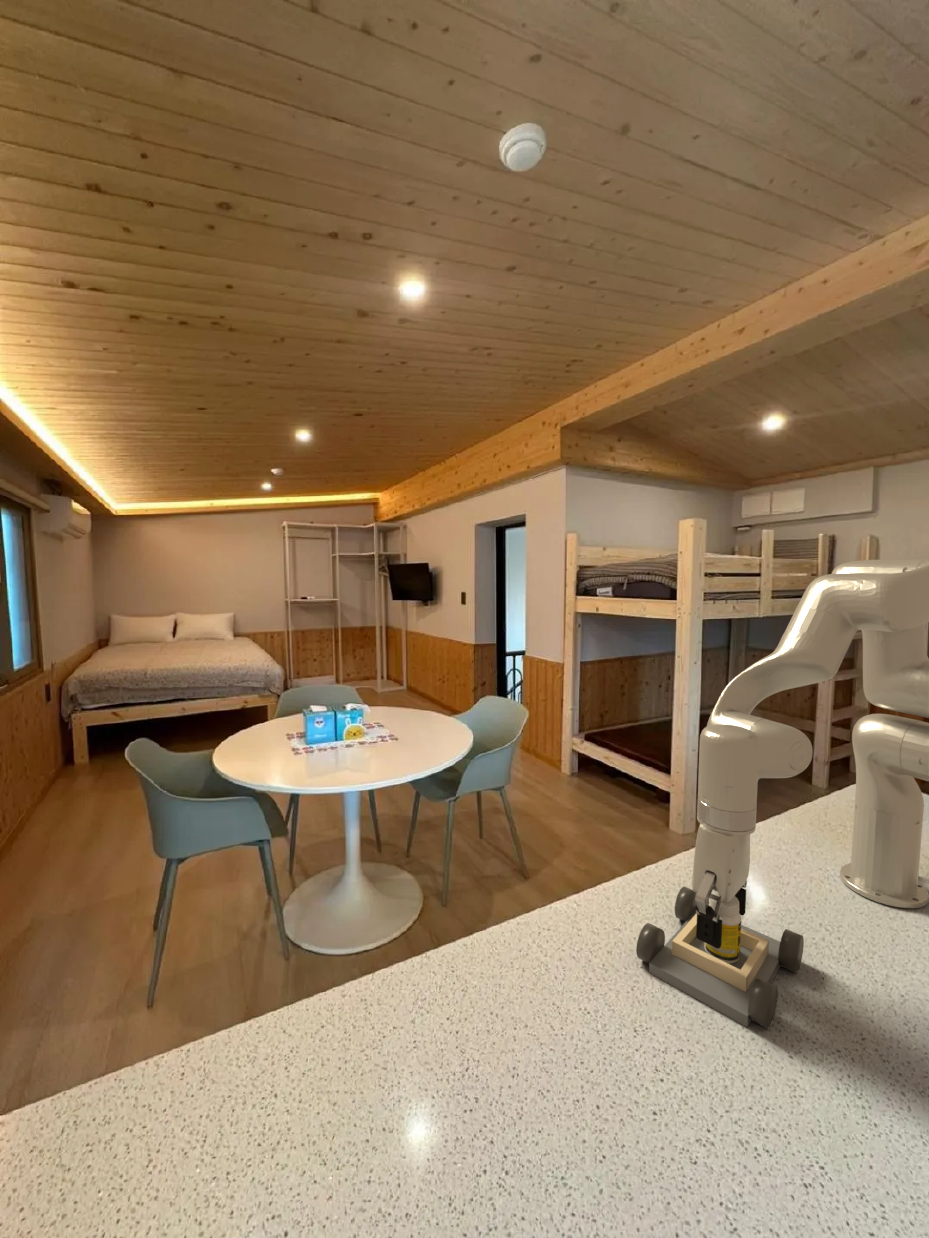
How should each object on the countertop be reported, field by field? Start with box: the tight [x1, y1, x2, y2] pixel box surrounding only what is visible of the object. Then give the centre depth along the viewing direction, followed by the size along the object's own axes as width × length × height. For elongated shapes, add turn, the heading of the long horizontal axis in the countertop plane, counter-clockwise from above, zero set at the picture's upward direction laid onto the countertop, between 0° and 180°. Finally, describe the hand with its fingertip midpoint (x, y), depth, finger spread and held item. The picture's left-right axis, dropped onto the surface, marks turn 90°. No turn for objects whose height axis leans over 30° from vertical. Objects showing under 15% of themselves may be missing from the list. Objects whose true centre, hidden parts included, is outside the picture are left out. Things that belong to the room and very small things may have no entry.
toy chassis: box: [635, 886, 805, 1029], centre depth 78 cm, size 18×17×5 cm
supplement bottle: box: [704, 890, 742, 964], centre depth 77 cm, size 5×5×8 cm
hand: (721, 926), depth 77 cm, fingers open, 9 cm apart
